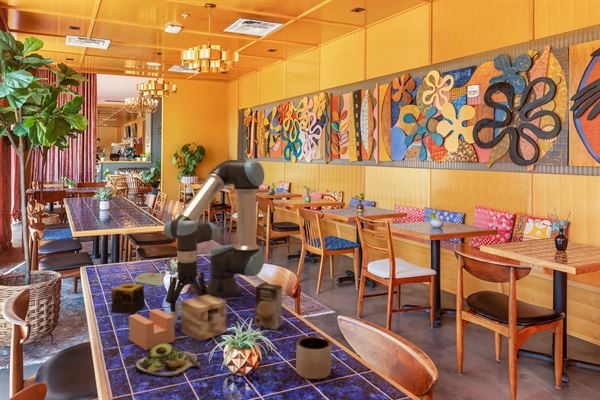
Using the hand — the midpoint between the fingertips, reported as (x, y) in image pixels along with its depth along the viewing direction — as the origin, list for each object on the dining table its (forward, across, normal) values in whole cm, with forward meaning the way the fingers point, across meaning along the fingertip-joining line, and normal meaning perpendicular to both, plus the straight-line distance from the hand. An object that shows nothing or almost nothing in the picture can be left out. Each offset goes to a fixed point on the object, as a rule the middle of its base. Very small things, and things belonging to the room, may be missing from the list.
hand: (187, 316), depth 182 cm
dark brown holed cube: (+4, -8, +33) cm, 34 cm away
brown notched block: (+3, 0, -11) cm, 11 cm away
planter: (+4, +5, -62) cm, 62 cm away
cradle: (+3, -18, -5) cm, 19 cm away
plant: (+4, +25, +69) cm, 74 cm away
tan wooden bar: (-3, 0, -8) cm, 9 cm away
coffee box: (+4, +22, -23) cm, 32 cm away
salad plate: (+4, -24, -25) cm, 35 cm away
